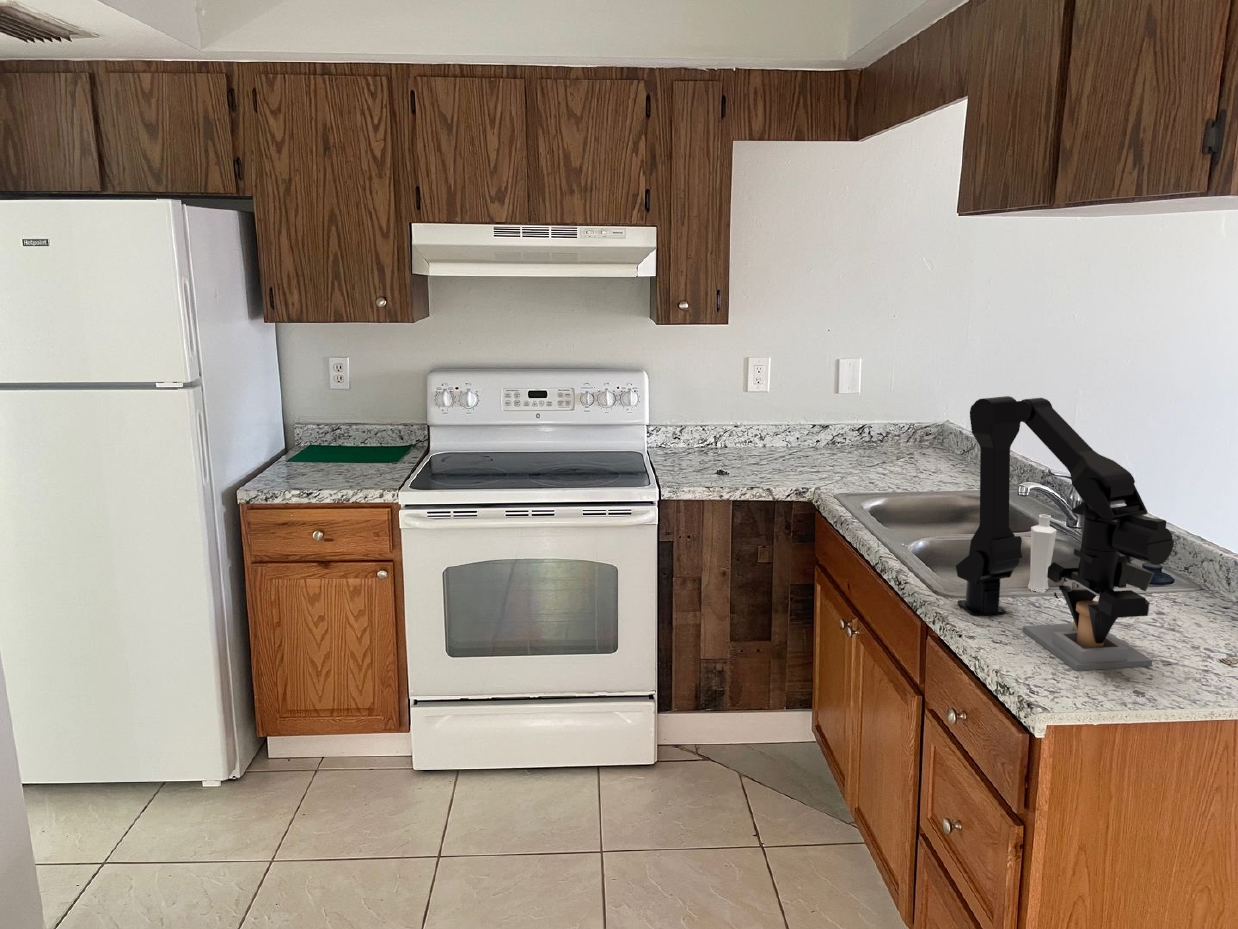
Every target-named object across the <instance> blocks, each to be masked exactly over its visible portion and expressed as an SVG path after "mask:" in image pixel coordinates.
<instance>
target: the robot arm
mask: <svg viewBox="0 0 1238 929" xmlns="http://www.w3.org/2000/svg"><path fill="white" fill-rule="evenodd" d="M969 419H970V428H971V433H972V435H973V437H974V438H975V441H976V442H977V445H979V449H980V450H979V451H980V452H979V453H980V454H979V455H980V456H979V457H980V459H979V460H980V462H979V463H980V464H979V465H980V466H979V468H980V469H979V475H980V476H979V525H978V527H977V529H976V531H975V532H974V534H973V536H972V538H971V540H970V545H969V552H968V555H967V556H966V557H965V558H964V559H962V560H961V561H959V563H957V564H956V565H955V570H956V574H957V576H956V577H958V578H959V579H961V580H962V579H963V580H964V581H966V588H965V590H966V593H965V599H961V600H957V604H958V605H959V606H961V607H962V608H963V609H964V610H966V611H967V612H968V613H970V614H971V615H973V616H987V615H1003V614H1006V613H1007V611H1006V609H1004V608H1003V607H1002V606H1001V605H1000V596H1001V595H1000V594H1001V579H1009V578H1011V576H1012V574H1013V572H1014V570H1015V569H1016V568H1017V567H1018V566H1019V564H1020V559H1022V558H1023V554H1022V544H1023V542H1022V541H1023V539H1022V536H1020V535H1015V533H1014V531H1013V530H1012V529H1011V526H1010V487H1011V486H1010V485H1011V484H1010V481H1011V480H1010V478H1011V476H1010V475H1011V471H1010V470H1011V447H1012V445H1013V443H1014V441H1015V439H1016V438H1017V436H1018V434H1019V433H1020V428H1021V423H1022V422H1023V423H1024V424H1025V425H1026V426H1027V427H1028V428H1029V429H1030V430H1031V431H1032V432H1033V433H1034V435H1035V436H1036V437H1037V438H1038V439H1039V440H1040V441H1041V442H1042V443H1043V445H1044V446H1046V448H1047V449H1048V450H1049V451H1050V452H1051V453H1052V454H1053V455H1054V456H1055V457H1056V459H1058V461H1059V462H1060V463H1061V464H1062V465H1063V466H1064V467H1065V468H1066V469H1067V471H1068V472H1069V474H1070V480H1071V484H1072V487H1073V488H1074V490H1075V491H1076V493H1077V494H1078V495H1079V497H1080V499H1081V500H1082V501H1081V503H1080V504H1079V505H1076V506H1075V507H1073V508H1072V509H1071V513H1073V514H1076V515H1080V516H1082V517H1083V519H1082V530H1081V537H1080V538H1081V539H1080V545H1079V546H1080V547H1074V549H1073V555H1074V556H1075V557H1078V560H1067V561H1053V562H1051V565H1050V566H1049V567H1048V574H1047V578H1048V580H1050V581H1052V582H1054V583H1056V584H1057V583H1060V582H1061V581H1062V580H1063V584H1062V585H1058V590H1059V591H1060V592H1061V593H1062V596H1063V598H1064V601H1065V603H1066V604H1067V606H1068V609H1069V611H1070V614H1071V616H1072V618H1073V621H1075V624H1076V626H1077V629H1078V623H1079V614H1080V613H1078V612H1077V611H1076V604H1077V602H1078V601H1082V600H1093V601H1094V600H1095V598H1096V597H1097V596H1098V600H1097V601H1098V604H1094V605H1088V608H1089V614H1090V619H1091V625H1092V630H1093V635H1094V639H1095V642H1096V643H1097V644H1100V643H1103V642H1104V640H1105V638H1106V636H1107V635H1108V633H1110V631H1111V629H1112V628H1113V626H1114V624H1115V622H1116V621H1117V620H1118V618H1133V617H1147V616H1149V613H1150V612H1149V611H1150V604H1151V602H1149V601H1148V599H1147V598H1146V597H1144V596H1142V595H1140V594H1139V593H1137V592H1135V591H1134V590H1131V589H1128V590H1114V589H1115V588H1118V589H1123V588H1125V589H1126V588H1127V585H1129V586H1132V587H1135V588H1138V589H1139V590H1141V591H1143V592H1147V590H1148V588H1149V586H1150V583H1151V581H1152V579H1153V577H1154V575H1155V573H1154V572H1152V571H1150V570H1148V569H1146V568H1144V567H1142V566H1140V565H1138V564H1135V563H1134V562H1132V559H1136V560H1139V561H1141V562H1145V563H1148V564H1151V565H1156V566H1159V565H1162V564H1164V563H1165V562H1167V560H1168V559H1169V558H1170V556H1171V553H1172V551H1173V548H1174V545H1175V543H1174V542H1175V540H1174V539H1173V534H1172V532H1171V531H1170V529H1168V528H1167V524H1168V523H1167V520H1166V519H1164V518H1163V519H1162V518H1159V517H1158V518H1154V517H1151V516H1146V515H1147V514H1148V513H1149V511H1148V510H1147V507H1146V505H1145V503H1144V501H1143V500H1142V497H1141V496H1140V494H1139V493H1140V492H1139V490H1138V489H1137V487H1136V485H1135V482H1136V480H1135V478H1134V476H1133V474H1132V473H1131V472H1130V471H1128V469H1126V468H1125V467H1123V466H1121V465H1120V464H1119V463H1117V462H1116V460H1113V459H1110V458H1109V457H1106V456H1104V455H1101V454H1100V453H1098V452H1097V451H1095V450H1094V449H1093V448H1092V447H1091V446H1090V445H1089V444H1088V443H1087V442H1086V441H1085V439H1083V438H1082V437H1081V436H1080V435H1079V433H1078V432H1076V430H1075V429H1073V428H1072V426H1070V425H1069V423H1067V421H1066V420H1065V419H1064V418H1063V417H1062V416H1061V415H1060V414H1059V413H1058V412H1057V411H1056V410H1055V409H1054V407H1053V406H1052V403H1051V402H1050V401H1049V400H1048V399H1046V398H1045V397H1044V398H1043V397H1034V398H1033V397H1032V398H1026V399H1025V398H1024V399H1021V400H1017V399H1015V398H1014V397H1012V396H1008V395H1007V396H995V397H986V398H979V399H977V400H976V401H975V402H974V403H973V404H972V405H971V406H970V410H969ZM1121 504H1125V505H1121ZM1114 505H1115V507H1111V506H1114ZM1116 505H1120V506H1116Z"/></svg>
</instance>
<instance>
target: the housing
mask: <svg viewBox="0 0 1238 929" xmlns="http://www.w3.org/2000/svg"><path fill="white" fill-rule="evenodd" d="M1022 632H1023V633H1024V634H1025V635H1027V636H1028V637H1029V638H1031V639H1032V640H1033V641H1035V642H1036V643H1038V644H1039V645H1040V646H1042V647H1043V648H1044V649H1046V650H1047V651H1048V652H1050V654H1052V655H1053V656H1055V657H1056V658H1058V659H1059V660H1060V661H1062V662H1063V663H1064V664H1066V665H1067V666H1068V667H1070V668H1071V669H1073V671H1075V672H1078V671H1079V672H1080V671H1081V672H1082V671H1083V672H1084V671H1098V670H1111V669H1126V668H1127V669H1128V668H1140V667H1142V668H1143V667H1145V668H1146V667H1152V666H1153V659H1152V658H1150V657H1148V656H1147V655H1145V654H1143V653H1142V652H1141V651H1139V650H1137V649H1136V648H1134V647H1133V646H1132V645H1129V643H1126V642H1125V641H1123V640H1121V639H1120V638H1118V637H1117V636H1116V635H1114V634H1112V633H1111V632H1109V633H1108V635H1107V636H1106V638H1105V640H1104V647H1103V648H1089V649H1083V648H1082V647H1080V646H1079V645H1078V644H1076V641H1077V632H1078V629H1077V626H1076V624H1075V621H1074V620H1073V621H1072V622H1071V623H1054V624H1053V623H1052V624H1051V623H1050V624H1039V625H1038V624H1037V625H1036V624H1035V625H1023V626H1022Z"/></svg>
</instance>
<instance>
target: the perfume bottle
mask: <svg viewBox="0 0 1238 929" xmlns="http://www.w3.org/2000/svg"><path fill="white" fill-rule="evenodd" d="M1038 516H1039V517H1038V518H1039V520H1038V524H1036V525H1033V526H1031V527H1030V565H1029V566H1030V569H1029V570H1030V572H1029V573H1030V574H1029V575H1030V576H1029V577H1030V578H1029V583H1028V584H1027V589H1028V590H1029V589H1031V591H1030V592H1033V591H1036V592H1035V593H1041V594H1045V593H1046V592H1045V591H1046V590H1045V589H1048V588H1049V584H1048V583H1049V578H1047V574H1048V567H1049V566H1050V565H1051V564H1052V560H1053V554H1054V550H1055V549H1054V548H1055V543H1056V542H1055V541H1056V538H1057V529H1056V528H1054V527H1053V526H1051V524H1050V523H1051V517H1052V516H1051V515H1048V514H1044V513H1043V514H1038ZM1034 589H1035V590H1034ZM1032 590H1033V591H1032Z"/></svg>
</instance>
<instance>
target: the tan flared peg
mask: <svg viewBox="0 0 1238 929" xmlns="http://www.w3.org/2000/svg"><path fill="white" fill-rule="evenodd" d="M1094 604H1098V600H1094V599H1093V600H1082V601H1078V602H1077V604H1076V611H1077V612H1078V613H1080V614H1079V623H1078V632H1077V641H1076V644H1078V645H1079V646H1080V647H1082V648H1083V649H1089V648H1103V647H1104V642H1103V643H1100V644H1097V643H1096V642H1095V639H1094V635H1093V630H1092V625H1091V619H1090V614H1089V608H1088V605H1094Z"/></svg>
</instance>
